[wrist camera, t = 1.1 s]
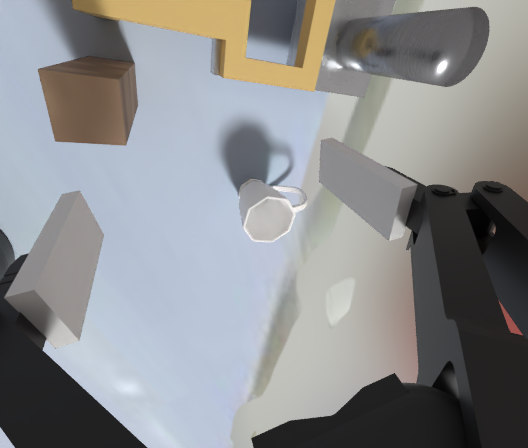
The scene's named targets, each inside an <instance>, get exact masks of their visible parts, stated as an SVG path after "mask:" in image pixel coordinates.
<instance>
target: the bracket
mask: <svg viewBox="0 0 528 448" xmlns="http://www.w3.org/2000/svg"><path fill="white" fill-rule="evenodd" d="M335 1H336V0H307V1H306V6H305V11H304V16H303V22H302V27H301V32H300V38H299V43H298V48H297V54H296V59H295V64H294V66H288V65H283V64H277V63H272V62H266V61H261V60H255V59H250V58H245V57H246V47H247V38H248V28H249V19H250V9H251V0H72V4H73V9H75V10H78V11H80V12H83V13H86V14H89V15H92V16H95V17H100V18H105V19H110V20H115V21H119V20H124V21H129V22H134V23H139V24H144V25H149V26H154V27H159V28H164V29H169V30H174V31H179V32H184V33H189V34H194V35H199V36H204V37H209V38H214V39H221V40H222V41H221V57H220V73H219V75H220V76H221V77H223V78H228V79H234V80H241V81H248V82H254V83H261V84H267V85H274V86H281V87H287V88H294V89H300V90H307V91H315V87H316V82H317V78H318V74H319V70H320V65H321V61H322V57H323V52H324V48H325V44H326V39H327V35H328V31H329V26H330V22H331V18H332V14H333V9H334V5H335Z"/></svg>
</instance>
